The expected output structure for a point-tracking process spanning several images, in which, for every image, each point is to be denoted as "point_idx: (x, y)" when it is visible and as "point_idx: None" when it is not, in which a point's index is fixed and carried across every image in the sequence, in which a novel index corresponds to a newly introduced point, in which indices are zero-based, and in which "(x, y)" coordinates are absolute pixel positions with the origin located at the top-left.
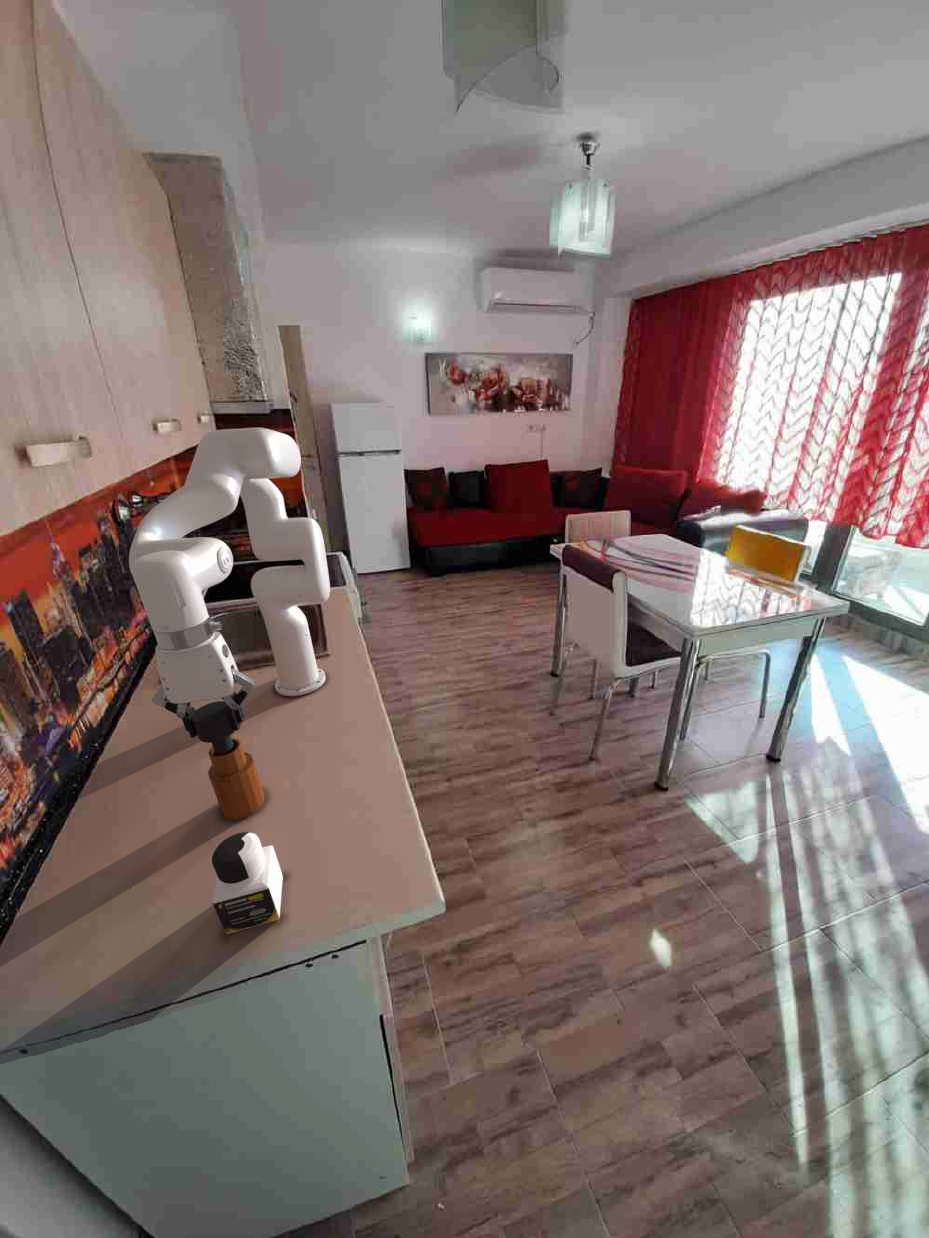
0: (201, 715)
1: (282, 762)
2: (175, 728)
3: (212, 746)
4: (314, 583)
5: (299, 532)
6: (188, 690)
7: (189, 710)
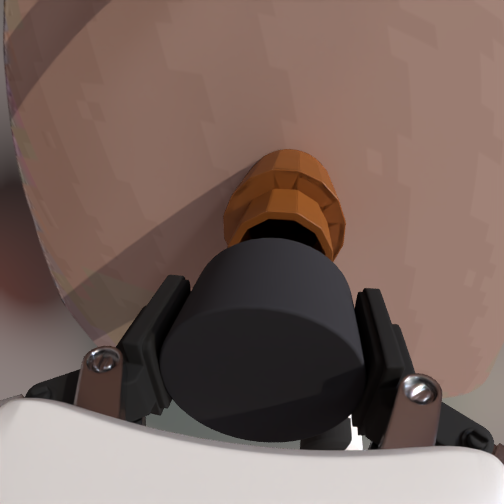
0: (214, 401)
1: (358, 82)
2: None
3: (232, 240)
4: None
5: None
6: None
7: (144, 397)
